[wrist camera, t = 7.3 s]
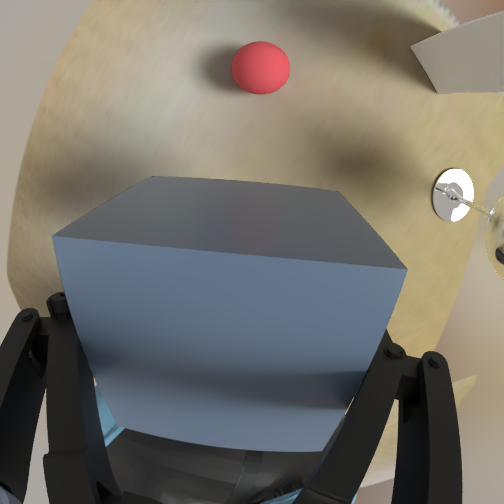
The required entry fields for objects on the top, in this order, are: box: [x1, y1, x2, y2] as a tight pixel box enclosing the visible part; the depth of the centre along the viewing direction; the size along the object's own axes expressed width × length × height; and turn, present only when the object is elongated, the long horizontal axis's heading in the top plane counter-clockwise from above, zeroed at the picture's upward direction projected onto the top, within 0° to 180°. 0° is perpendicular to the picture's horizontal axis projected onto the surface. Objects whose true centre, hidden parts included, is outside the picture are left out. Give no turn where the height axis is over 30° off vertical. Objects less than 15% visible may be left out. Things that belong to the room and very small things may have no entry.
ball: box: [231, 42, 290, 94], centre depth 21 cm, size 5×5×5 cm
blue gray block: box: [52, 176, 408, 452], centre depth 13 cm, size 10×10×9 cm
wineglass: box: [432, 168, 504, 280], centre depth 19 cm, size 8×8×18 cm
